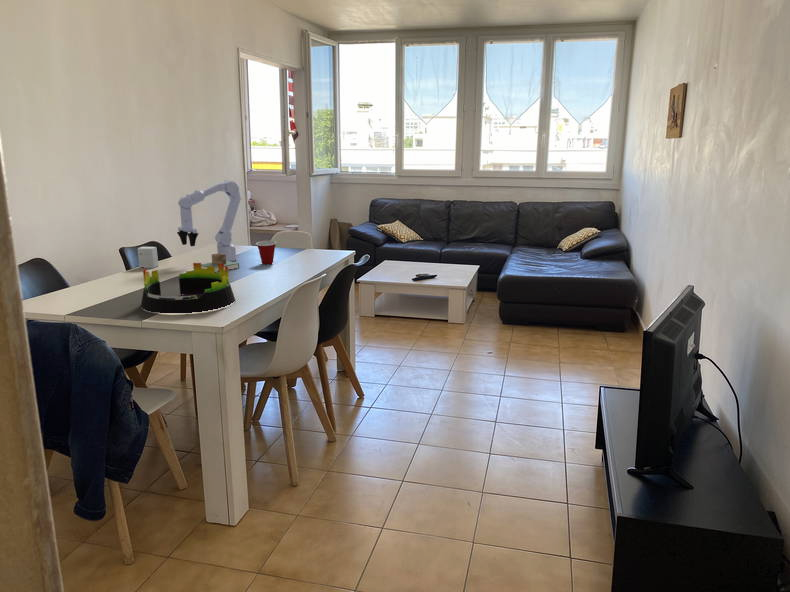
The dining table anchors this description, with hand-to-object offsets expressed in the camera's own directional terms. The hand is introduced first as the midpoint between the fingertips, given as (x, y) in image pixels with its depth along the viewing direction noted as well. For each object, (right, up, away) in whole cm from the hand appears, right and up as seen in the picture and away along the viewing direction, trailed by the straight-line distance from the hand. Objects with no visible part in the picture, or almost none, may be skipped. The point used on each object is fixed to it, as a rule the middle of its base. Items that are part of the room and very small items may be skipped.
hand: (188, 245), depth 329 cm
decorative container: (+26, -31, -77) cm, 87 cm away
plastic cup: (+41, -10, +6) cm, 42 cm away
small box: (-19, -12, -5) cm, 23 cm away
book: (+19, -13, -8) cm, 25 cm away
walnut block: (+19, -10, -9) cm, 24 cm away
